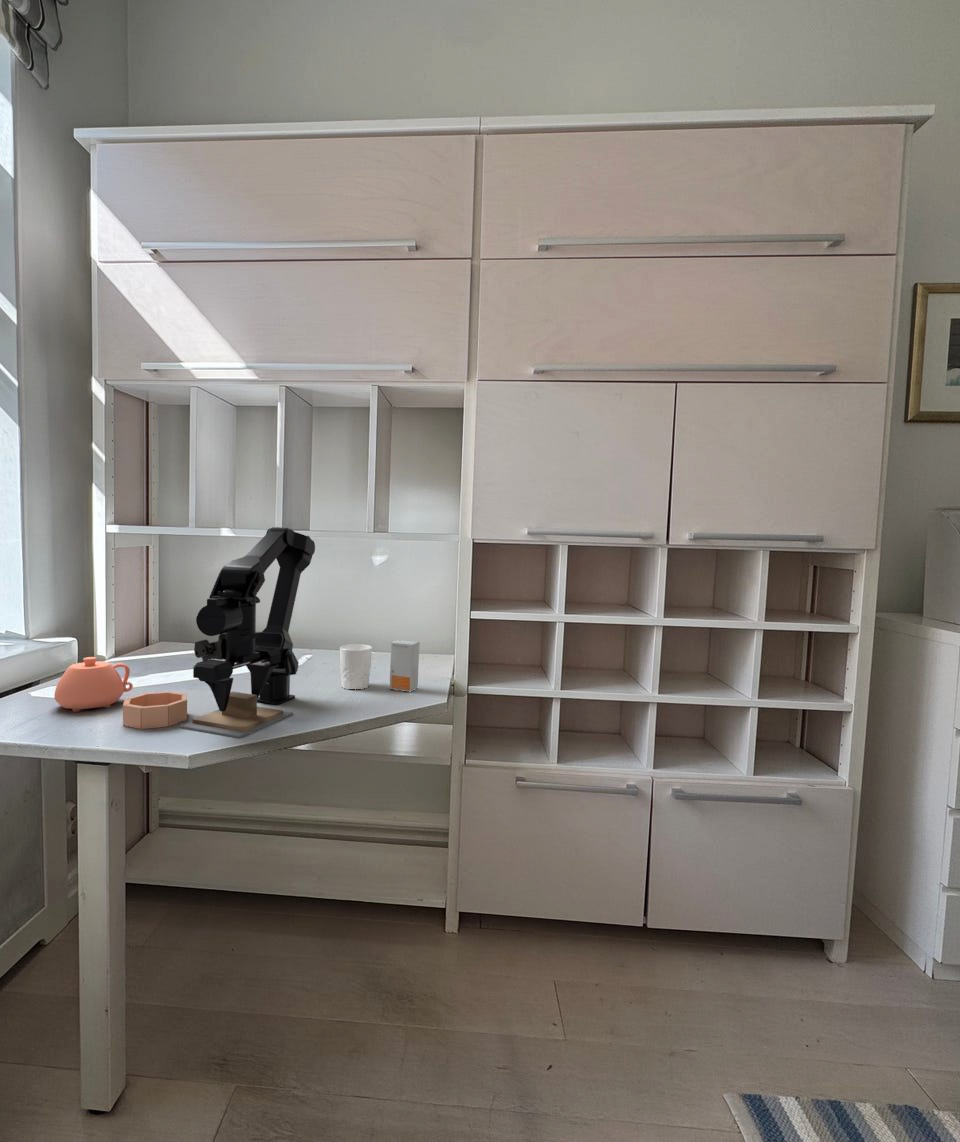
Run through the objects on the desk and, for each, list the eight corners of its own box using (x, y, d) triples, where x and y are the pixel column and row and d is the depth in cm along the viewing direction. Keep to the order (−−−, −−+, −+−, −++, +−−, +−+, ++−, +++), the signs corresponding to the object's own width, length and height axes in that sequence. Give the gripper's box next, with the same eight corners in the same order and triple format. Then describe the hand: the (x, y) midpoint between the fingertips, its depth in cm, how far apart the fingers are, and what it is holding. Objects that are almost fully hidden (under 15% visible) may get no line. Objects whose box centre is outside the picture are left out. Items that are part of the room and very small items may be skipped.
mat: (238, 705, 128) (238, 703, 128) (293, 714, 123) (293, 712, 123) (179, 727, 113) (179, 725, 112) (239, 738, 108) (239, 736, 108)
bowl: (157, 708, 124) (158, 689, 124) (199, 715, 120) (199, 695, 120) (110, 723, 113) (110, 702, 113) (154, 731, 110) (154, 710, 110)
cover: (236, 706, 125) (236, 684, 125) (283, 714, 122) (283, 691, 121) (192, 723, 114) (192, 698, 114) (242, 731, 110) (243, 706, 110)
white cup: (373, 683, 151) (374, 644, 150) (368, 691, 143) (369, 650, 143) (342, 682, 151) (343, 643, 150) (335, 690, 143) (336, 649, 142)
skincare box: (388, 690, 145) (390, 642, 144) (396, 686, 149) (397, 639, 148) (411, 693, 143) (413, 644, 142) (418, 688, 147) (420, 641, 146)
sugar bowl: (51, 702, 125) (51, 655, 124) (127, 693, 134) (127, 649, 133) (57, 718, 116) (56, 666, 115) (138, 706, 125) (138, 659, 124)
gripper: (240, 618, 128) (239, 689, 129) (170, 631, 110) (169, 712, 111) (283, 622, 125) (281, 695, 126) (218, 636, 107) (217, 720, 108)
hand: (239, 704), depth 118 cm, fingers open, 9 cm apart
